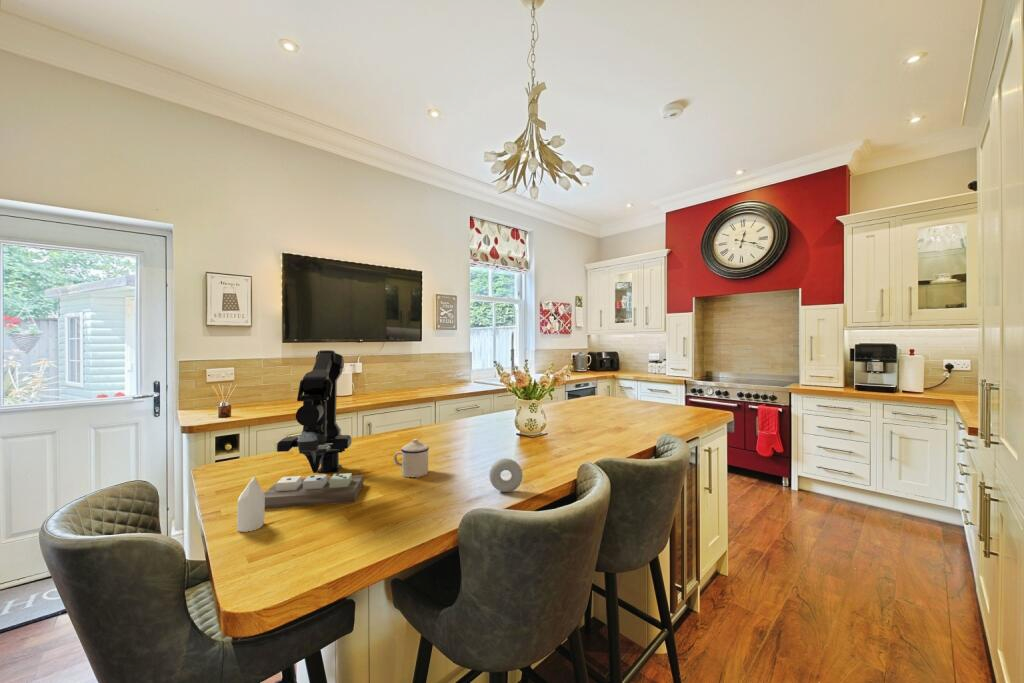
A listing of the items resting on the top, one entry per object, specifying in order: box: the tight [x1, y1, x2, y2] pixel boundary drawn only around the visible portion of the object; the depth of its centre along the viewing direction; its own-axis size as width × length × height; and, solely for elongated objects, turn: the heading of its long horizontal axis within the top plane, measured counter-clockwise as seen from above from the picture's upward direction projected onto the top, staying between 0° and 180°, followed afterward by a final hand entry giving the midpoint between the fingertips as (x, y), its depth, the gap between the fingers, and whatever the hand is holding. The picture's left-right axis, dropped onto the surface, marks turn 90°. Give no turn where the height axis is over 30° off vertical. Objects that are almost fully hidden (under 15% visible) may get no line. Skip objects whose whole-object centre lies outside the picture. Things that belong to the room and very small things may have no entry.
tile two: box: [303, 474, 328, 490], centre depth 114 cm, size 5×5×3 cm
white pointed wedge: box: [236, 476, 266, 533], centre depth 95 cm, size 6×12×6 cm
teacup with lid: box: [393, 438, 430, 479], centre depth 134 cm, size 12×9×12 cm
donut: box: [489, 458, 524, 493], centre depth 118 cm, size 10×4×10 cm, turn 89°
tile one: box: [275, 475, 302, 491], centre depth 113 cm, size 5×5×3 cm
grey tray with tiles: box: [264, 474, 364, 510], centre depth 114 cm, size 14×24×3 cm, turn 101°
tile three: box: [330, 472, 353, 488], centre depth 116 cm, size 5×5×3 cm
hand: (315, 472), depth 114 cm, fingers closed
